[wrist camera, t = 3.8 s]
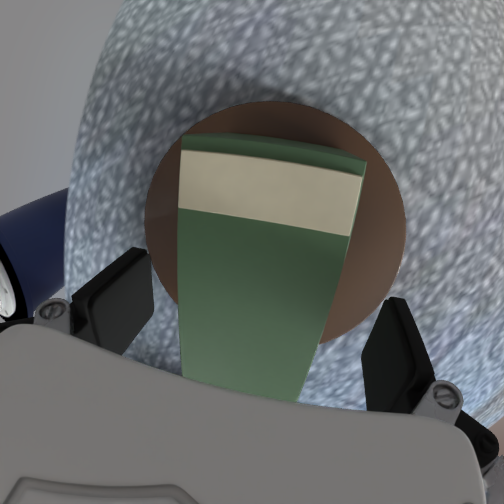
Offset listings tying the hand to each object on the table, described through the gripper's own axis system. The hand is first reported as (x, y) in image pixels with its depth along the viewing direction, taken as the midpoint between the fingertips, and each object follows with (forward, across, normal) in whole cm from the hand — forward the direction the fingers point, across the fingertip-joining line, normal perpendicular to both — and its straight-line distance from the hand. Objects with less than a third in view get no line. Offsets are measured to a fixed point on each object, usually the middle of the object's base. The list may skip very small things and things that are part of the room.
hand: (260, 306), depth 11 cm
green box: (+6, 0, 0) cm, 6 cm away
